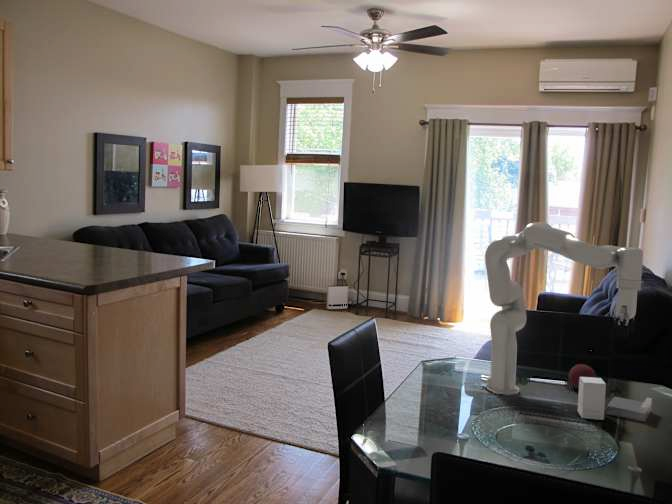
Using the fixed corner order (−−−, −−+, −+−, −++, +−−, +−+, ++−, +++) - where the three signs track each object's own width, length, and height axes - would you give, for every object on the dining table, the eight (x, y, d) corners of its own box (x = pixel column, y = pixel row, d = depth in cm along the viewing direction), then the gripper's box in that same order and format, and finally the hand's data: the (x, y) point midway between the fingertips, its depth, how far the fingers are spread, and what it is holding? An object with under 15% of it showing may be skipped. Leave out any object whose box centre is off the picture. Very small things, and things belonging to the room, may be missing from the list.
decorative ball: (568, 384, 240) (570, 359, 239) (595, 387, 236) (597, 363, 235) (567, 391, 231) (568, 366, 230) (595, 395, 226) (596, 369, 225)
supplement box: (604, 420, 201) (606, 384, 200) (581, 418, 203) (583, 382, 202) (599, 412, 208) (601, 377, 207) (577, 410, 210) (578, 375, 209)
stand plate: (606, 413, 207) (607, 400, 207) (614, 404, 217) (615, 391, 216) (644, 422, 200) (645, 407, 200) (650, 412, 210) (651, 398, 209)
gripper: (621, 280, 209) (618, 328, 210) (610, 286, 195) (607, 337, 197) (645, 282, 204) (642, 331, 206) (636, 288, 190) (632, 340, 192)
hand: (625, 334), depth 201 cm, fingers open, 9 cm apart
